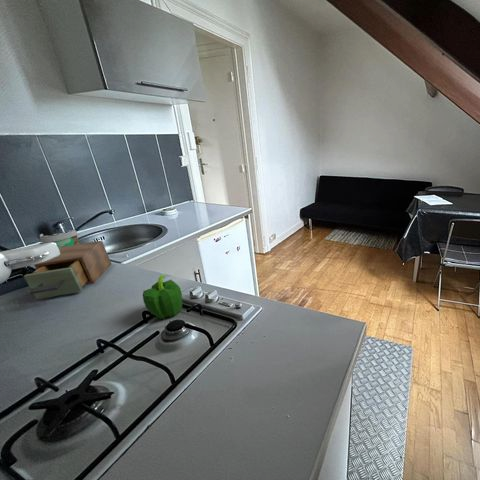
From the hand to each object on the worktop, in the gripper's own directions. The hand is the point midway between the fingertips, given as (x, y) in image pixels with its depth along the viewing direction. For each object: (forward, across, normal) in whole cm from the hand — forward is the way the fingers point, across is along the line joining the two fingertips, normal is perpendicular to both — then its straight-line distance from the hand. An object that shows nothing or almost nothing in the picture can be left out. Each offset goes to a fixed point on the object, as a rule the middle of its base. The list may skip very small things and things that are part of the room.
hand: (19, 252), depth 66 cm
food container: (+47, +13, +11) cm, 50 cm away
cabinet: (+22, -1, +15) cm, 26 cm away
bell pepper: (-16, -30, +21) cm, 40 cm away
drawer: (+13, 0, +15) cm, 20 cm away
